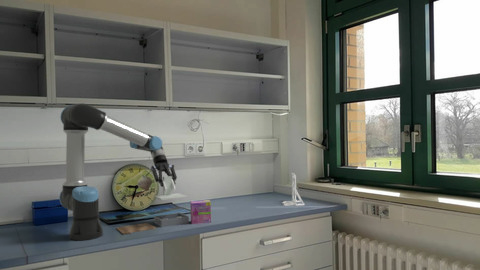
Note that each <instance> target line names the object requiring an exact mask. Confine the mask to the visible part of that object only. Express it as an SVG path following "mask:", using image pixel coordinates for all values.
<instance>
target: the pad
mask: <svg viewBox="0 0 480 270" xmlns="http://www.w3.org/2000/svg"><path fill="white" fill-rule="evenodd" d="M115 228H116V230H117V231H118V232H119V233H121V235H129V234H130V235H131V234H132V233H137V232H144V231H150V230H156V229H158V228H157V227H156V226H154V225H152V224H151V223H149V222H144V223H139V224H132V225H125V226H119V227H115Z"/></svg>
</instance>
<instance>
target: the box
mask: <svg viewBox="0 0 480 270" xmlns="http://www.w3.org/2000/svg"><path fill="white" fill-rule="evenodd" d="M211 205H212V202H211V200H210V199H206V200H205V199H204V200H193V201H190V223H191V224H192V225H198V224H209V223H212V206H211Z"/></svg>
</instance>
